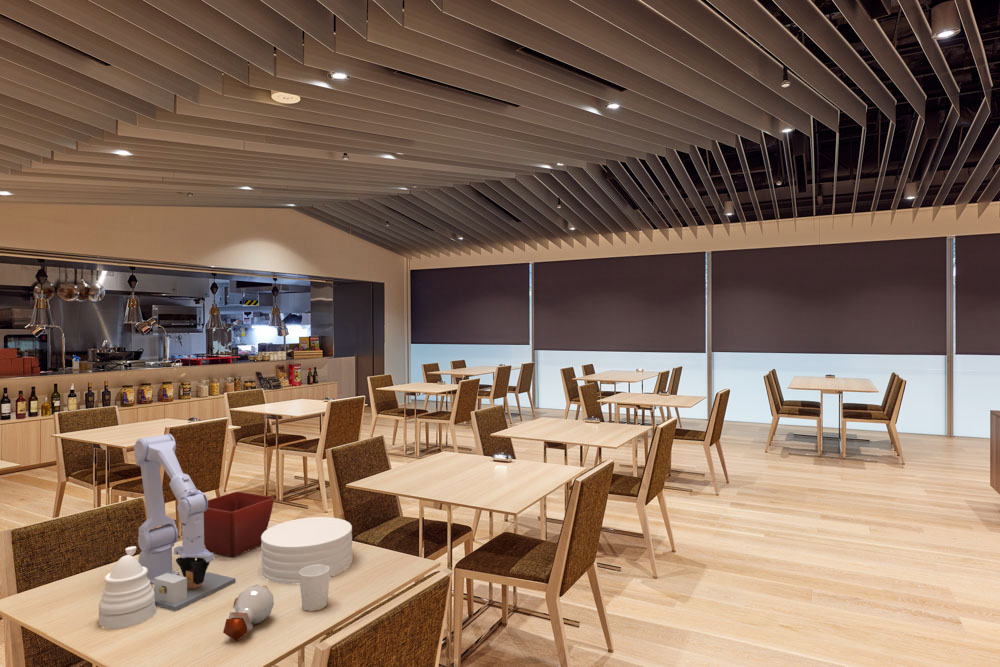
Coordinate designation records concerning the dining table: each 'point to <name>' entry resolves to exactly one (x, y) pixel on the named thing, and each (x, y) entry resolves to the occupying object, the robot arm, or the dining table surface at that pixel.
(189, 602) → the block
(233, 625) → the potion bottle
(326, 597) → the white cup
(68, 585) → the dining table surface
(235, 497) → the plant pot
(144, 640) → the dining table surface
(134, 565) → the honey pot
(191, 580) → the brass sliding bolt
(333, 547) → the plate stack
